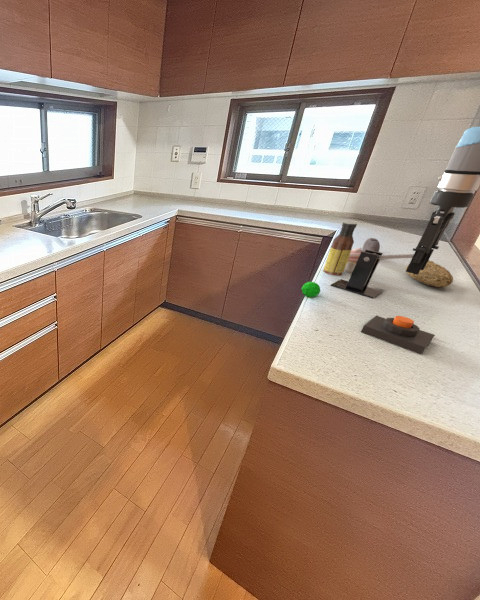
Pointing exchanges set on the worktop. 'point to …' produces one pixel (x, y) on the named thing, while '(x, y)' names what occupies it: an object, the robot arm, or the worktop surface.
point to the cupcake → (352, 260)
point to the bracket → (362, 275)
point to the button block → (398, 334)
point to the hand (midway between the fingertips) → (414, 270)
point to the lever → (394, 256)
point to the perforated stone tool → (371, 245)
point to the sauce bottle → (340, 250)
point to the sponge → (433, 275)
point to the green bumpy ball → (311, 289)
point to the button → (403, 322)
